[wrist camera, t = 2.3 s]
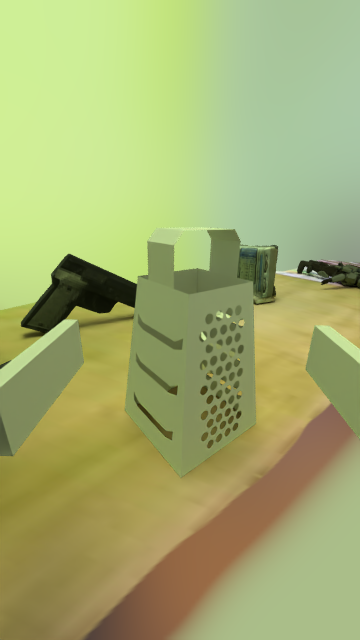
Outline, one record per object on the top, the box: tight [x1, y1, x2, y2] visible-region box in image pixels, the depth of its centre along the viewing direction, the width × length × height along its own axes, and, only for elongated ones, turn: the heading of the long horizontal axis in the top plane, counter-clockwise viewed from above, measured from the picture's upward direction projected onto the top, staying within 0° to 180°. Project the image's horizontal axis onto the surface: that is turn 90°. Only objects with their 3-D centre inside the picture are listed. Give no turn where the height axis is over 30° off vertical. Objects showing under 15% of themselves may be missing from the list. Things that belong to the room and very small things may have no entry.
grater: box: [125, 228, 256, 478], centre depth 25 cm, size 10×10×20 cm
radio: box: [237, 245, 278, 304], centre depth 75 cm, size 23×9×15 cm, turn 22°
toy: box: [297, 260, 360, 288], centre depth 94 cm, size 30×8×30 cm
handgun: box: [21, 254, 137, 333], centre depth 53 cm, size 2×24×15 cm, turn 120°
